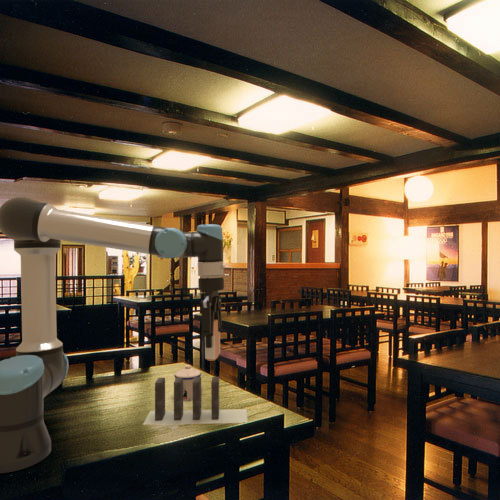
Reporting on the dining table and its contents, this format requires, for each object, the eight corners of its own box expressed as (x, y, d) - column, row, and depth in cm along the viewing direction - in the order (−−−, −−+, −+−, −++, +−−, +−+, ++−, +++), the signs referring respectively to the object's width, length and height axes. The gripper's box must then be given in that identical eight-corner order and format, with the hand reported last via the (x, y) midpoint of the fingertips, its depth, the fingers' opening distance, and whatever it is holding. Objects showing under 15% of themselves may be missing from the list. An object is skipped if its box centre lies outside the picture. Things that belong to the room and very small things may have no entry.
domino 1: (155, 420, 114) (154, 382, 114) (158, 413, 119) (158, 377, 119) (161, 420, 114) (161, 382, 114) (165, 413, 119) (165, 377, 119)
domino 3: (192, 420, 114) (192, 382, 114) (194, 413, 119) (194, 377, 119) (199, 419, 114) (199, 382, 114) (201, 413, 119) (201, 377, 119)
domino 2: (173, 420, 114) (173, 382, 114) (176, 413, 119) (176, 377, 119) (180, 420, 114) (180, 382, 114) (183, 413, 119) (183, 377, 119)
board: (142, 428, 111) (142, 424, 111) (150, 414, 121) (150, 410, 121) (247, 426, 112) (247, 422, 112) (246, 412, 122) (246, 409, 122)
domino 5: (211, 419, 114) (211, 382, 114) (212, 412, 119) (212, 376, 119) (218, 419, 114) (218, 381, 114) (219, 412, 119) (219, 376, 119)
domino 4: (218, 356, 117) (217, 319, 117) (213, 360, 112) (213, 322, 112) (212, 356, 117) (211, 319, 117) (207, 360, 112) (206, 322, 112)
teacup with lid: (169, 399, 133) (168, 365, 133) (190, 392, 140) (190, 360, 140) (190, 409, 125) (190, 372, 125) (212, 401, 131) (212, 366, 132)
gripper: (214, 278, 105) (216, 364, 105) (230, 275, 123) (232, 349, 122) (188, 279, 107) (190, 364, 106) (208, 275, 124) (209, 348, 124)
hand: (212, 355), depth 114 cm, fingers closed on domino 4, 5 cm apart
